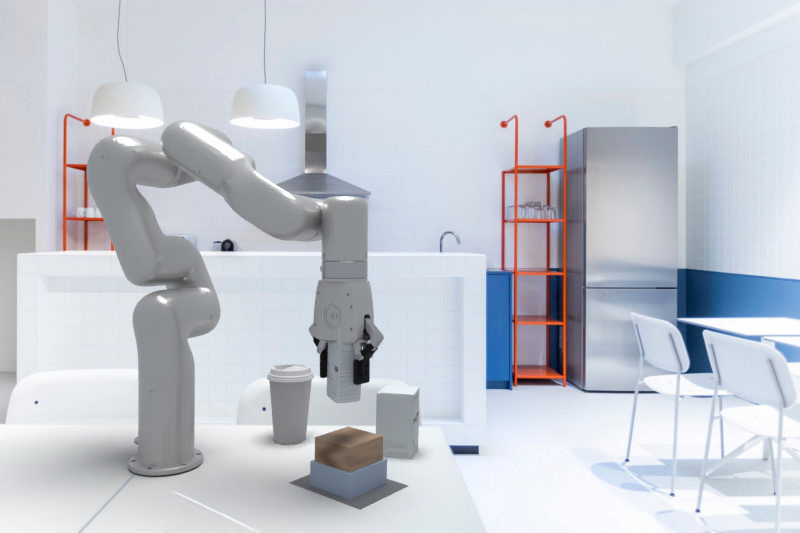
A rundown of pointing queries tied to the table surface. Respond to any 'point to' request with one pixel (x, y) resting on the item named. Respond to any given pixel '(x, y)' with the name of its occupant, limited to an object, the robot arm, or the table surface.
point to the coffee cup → (290, 401)
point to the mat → (360, 500)
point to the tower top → (348, 449)
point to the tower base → (348, 478)
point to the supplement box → (398, 420)
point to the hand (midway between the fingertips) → (344, 379)
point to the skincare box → (341, 372)
